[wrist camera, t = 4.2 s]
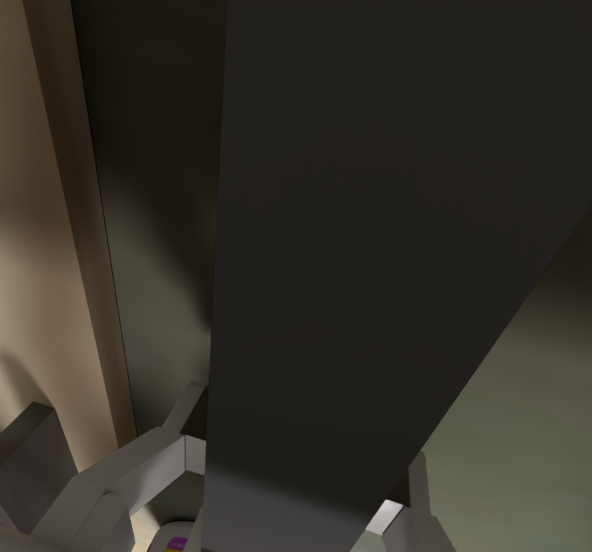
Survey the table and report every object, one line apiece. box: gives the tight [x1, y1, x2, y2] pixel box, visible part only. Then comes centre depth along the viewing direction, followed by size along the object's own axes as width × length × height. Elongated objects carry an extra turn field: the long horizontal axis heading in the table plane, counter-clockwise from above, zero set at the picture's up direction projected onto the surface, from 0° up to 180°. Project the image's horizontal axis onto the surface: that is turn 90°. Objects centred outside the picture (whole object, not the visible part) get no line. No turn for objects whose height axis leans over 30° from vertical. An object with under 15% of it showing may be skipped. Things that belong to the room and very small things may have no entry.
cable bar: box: [183, 0, 592, 552], centre depth 10 cm, size 5×21×5 cm, turn 170°
